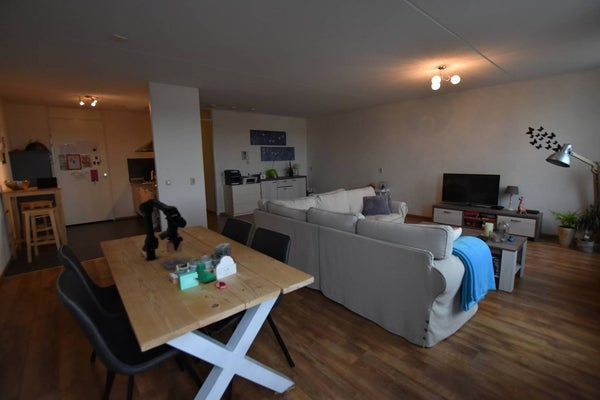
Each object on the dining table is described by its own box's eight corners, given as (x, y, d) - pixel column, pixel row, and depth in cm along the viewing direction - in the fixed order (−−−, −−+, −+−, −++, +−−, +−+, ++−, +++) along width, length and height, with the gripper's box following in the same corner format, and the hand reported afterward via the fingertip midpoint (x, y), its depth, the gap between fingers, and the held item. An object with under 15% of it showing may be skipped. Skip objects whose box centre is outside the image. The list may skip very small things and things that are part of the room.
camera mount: (217, 280, 161) (216, 262, 160) (204, 284, 156) (203, 266, 154) (206, 274, 169) (205, 258, 168) (194, 278, 164) (193, 261, 162)
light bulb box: (224, 263, 185) (223, 248, 184) (215, 263, 187) (214, 247, 185) (231, 258, 196) (230, 243, 194) (222, 257, 197) (221, 242, 195)
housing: (167, 252, 184) (166, 242, 183) (179, 249, 189) (178, 239, 188) (169, 254, 181) (168, 243, 179) (182, 251, 186) (181, 241, 185)
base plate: (161, 264, 187) (161, 258, 186) (183, 258, 196) (182, 253, 195) (168, 270, 176) (167, 264, 176) (190, 264, 186) (190, 259, 185)
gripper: (154, 226, 184) (157, 249, 187) (163, 231, 170) (165, 256, 173) (172, 223, 191) (174, 245, 194) (182, 228, 177) (184, 252, 180)
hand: (174, 249), depth 185 cm, fingers closed on housing, 5 cm apart
